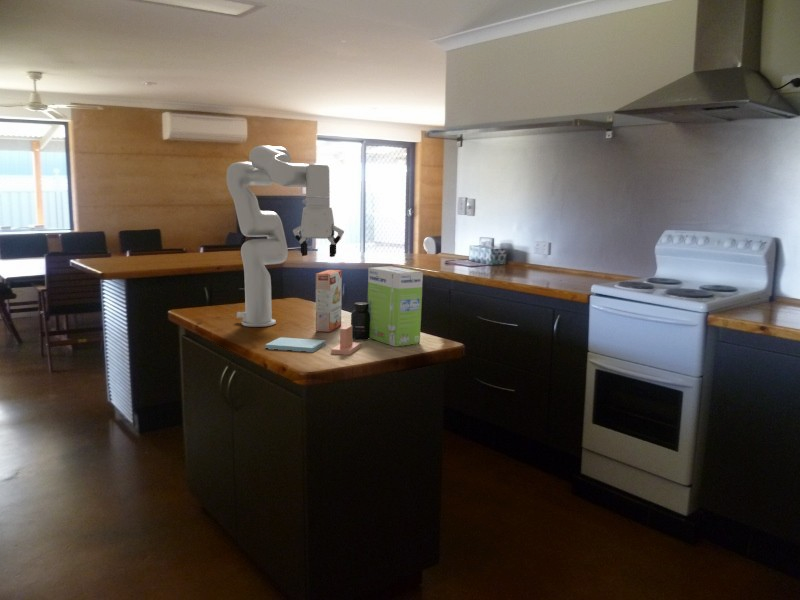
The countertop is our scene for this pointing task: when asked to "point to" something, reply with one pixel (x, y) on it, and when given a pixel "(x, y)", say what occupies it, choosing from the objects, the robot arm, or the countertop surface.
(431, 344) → the countertop surface
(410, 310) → the toothbrush box
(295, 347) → the light blue flat slab
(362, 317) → the supplement bottle
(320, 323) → the cracker box
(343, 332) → the stub
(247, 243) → the robot arm
